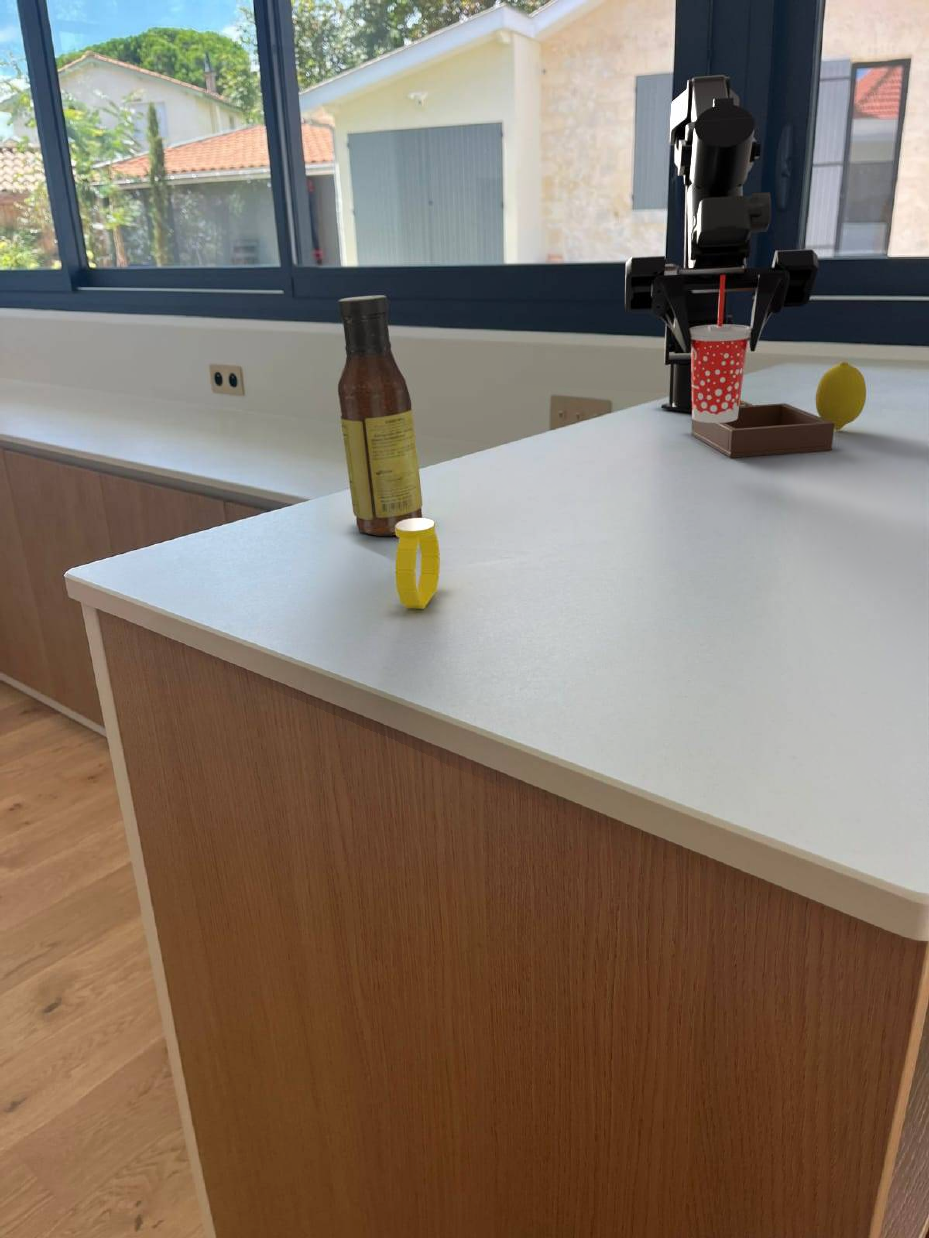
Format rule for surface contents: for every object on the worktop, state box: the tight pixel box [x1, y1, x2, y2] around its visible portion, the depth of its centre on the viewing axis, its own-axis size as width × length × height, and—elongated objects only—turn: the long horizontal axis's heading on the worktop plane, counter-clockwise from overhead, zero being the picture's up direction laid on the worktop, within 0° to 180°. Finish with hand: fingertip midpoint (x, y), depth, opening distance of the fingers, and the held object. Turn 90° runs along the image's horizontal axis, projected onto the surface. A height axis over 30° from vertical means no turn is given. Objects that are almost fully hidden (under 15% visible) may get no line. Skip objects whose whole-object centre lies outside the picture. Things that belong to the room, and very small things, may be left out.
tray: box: [691, 402, 835, 459], centre depth 109 cm, size 13×12×3 cm
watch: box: [394, 517, 441, 610], centre depth 67 cm, size 6×3×6 cm, turn 165°
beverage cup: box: [689, 275, 752, 423], centre depth 95 cm, size 6×6×14 cm
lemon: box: [815, 361, 867, 431], centre depth 112 cm, size 6×6×8 cm
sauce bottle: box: [337, 295, 423, 537], centre depth 82 cm, size 6×6×20 cm
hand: (719, 350), depth 94 cm, fingers closed on beverage cup, 6 cm apart
